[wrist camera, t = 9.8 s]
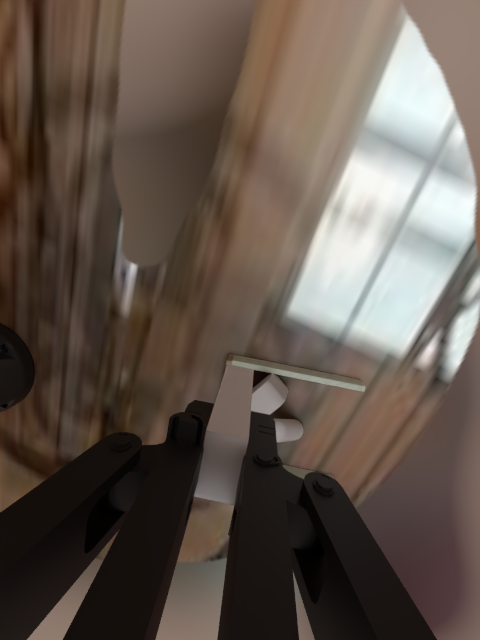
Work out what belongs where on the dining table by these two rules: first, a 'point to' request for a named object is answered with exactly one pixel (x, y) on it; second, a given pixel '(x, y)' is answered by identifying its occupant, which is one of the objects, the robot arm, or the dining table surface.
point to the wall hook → (275, 406)
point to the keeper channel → (300, 374)
